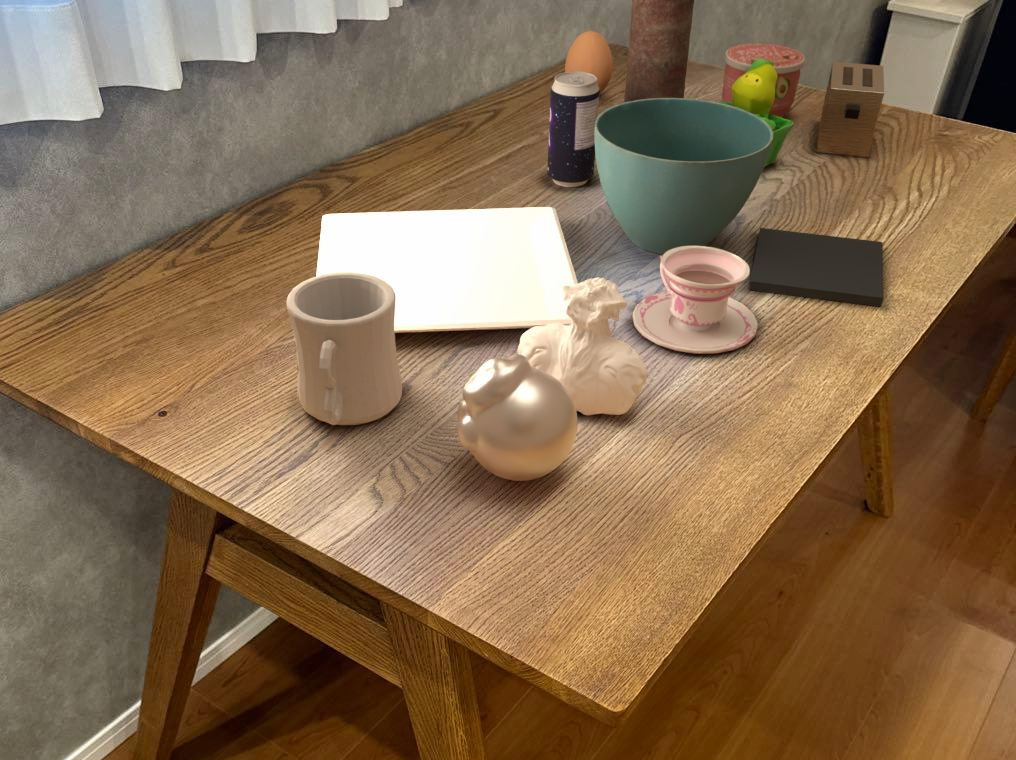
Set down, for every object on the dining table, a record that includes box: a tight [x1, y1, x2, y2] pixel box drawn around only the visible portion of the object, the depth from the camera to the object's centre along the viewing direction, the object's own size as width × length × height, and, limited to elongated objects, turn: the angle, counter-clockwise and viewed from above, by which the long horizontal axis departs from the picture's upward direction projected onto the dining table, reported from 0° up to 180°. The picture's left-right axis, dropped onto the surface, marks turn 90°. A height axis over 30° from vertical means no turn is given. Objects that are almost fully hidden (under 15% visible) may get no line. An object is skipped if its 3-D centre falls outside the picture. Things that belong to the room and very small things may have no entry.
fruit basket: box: [718, 59, 794, 168], centre depth 127 cm, size 11×9×11 cm
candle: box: [623, 0, 695, 103], centre depth 124 cm, size 8×7×20 cm
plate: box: [315, 206, 579, 334], centre depth 105 cm, size 26×26×2 cm
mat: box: [748, 227, 884, 307], centre depth 107 cm, size 13×13×1 cm
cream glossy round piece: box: [457, 353, 579, 482], centre depth 79 cm, size 9×10×10 cm
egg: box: [564, 30, 614, 95], centre depth 145 cm, size 7×7×9 cm
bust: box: [517, 276, 649, 416], centre depth 87 cm, size 12×8×11 cm
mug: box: [285, 272, 403, 426], centre depth 85 cm, size 12×9×10 cm
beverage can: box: [546, 71, 601, 188], centre depth 121 cm, size 6×6×12 cm
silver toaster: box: [816, 61, 885, 158], centre depth 132 cm, size 6×12×8 cm, turn 164°
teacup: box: [631, 245, 759, 355], centre depth 97 cm, size 12×12×6 cm
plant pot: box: [594, 97, 773, 255], centre depth 109 cm, size 18×18×12 cm
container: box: [721, 43, 806, 118], centre depth 139 cm, size 10×10×8 cm
